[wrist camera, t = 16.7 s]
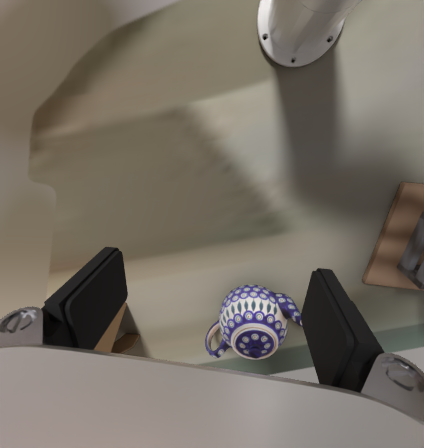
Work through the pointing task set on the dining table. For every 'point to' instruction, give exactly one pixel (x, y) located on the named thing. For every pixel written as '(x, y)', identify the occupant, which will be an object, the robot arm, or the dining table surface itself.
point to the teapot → (253, 322)
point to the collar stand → (400, 242)
